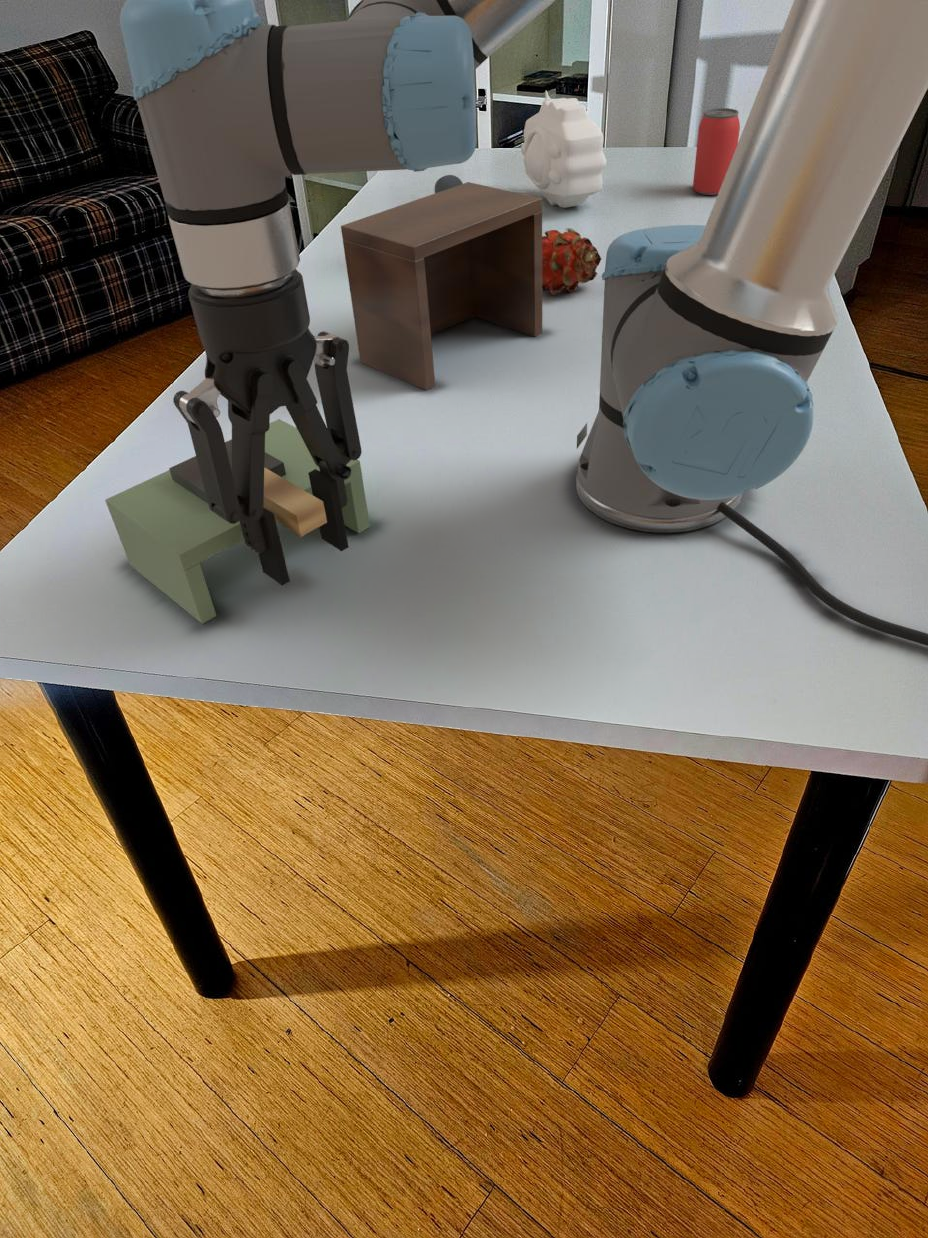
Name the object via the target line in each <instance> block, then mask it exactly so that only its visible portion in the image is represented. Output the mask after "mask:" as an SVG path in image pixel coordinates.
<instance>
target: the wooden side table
mask: <svg viewBox="0 0 928 1238" xmlns="http://www.w3.org/2000/svg"><path fill="white" fill-rule="evenodd" d="M422 197H423V198H420V197H419V198H420V199H419V198H418V199H415V200H412V201H408V202H406V203H403V204H400V205H397V206H394V207H391V208H388V209H386V210H383V211H381V212H376V213H374V214H371V215H369V216H366V217H363V218H360V219H357V220H354V221H351V222H348V223H345V224H342V225H341V226H340V230H341V238H342V246H343V253H344V258H345V265H346V272H347V279H348V280H347V281H348V286H349V293H350V300H351V308H352V313H353V314H352V316H353V321H354V327H355V335H356V336H355V337H356V342H357V349H358V355H359V362H360V363H361V364H363V365H365V366H368V367H371V368H373V369H375V370H377V371H380V372H383V373H385V374H387V375H389V376H392V377H393V378H396V379H398V380H401V381H403V382H406V383H409V384H411V385H413V386H416V387H417V388H421V389H423V390H425V391H428V390H430V389H432V388H434V387H436V378H435V366H434V355H433V342H432V336H433V335H435V334H438V333H439V332H442V331H444V330H446V329H448V328H451V327H453V326H455V325H457V324H460V323H461V322H464V321H467V320H468V319H470V318H473V317H476V318H479V319H481V320H484V321H488V322H490V323H493V324H496V325H499V326H502V327H505V328H507V329H508V328H509V329H512V330H514V331H517V332H519V333H523V334H526V335H529V336H532V337H537V336H539V335H542V334H543V288H542V236H543V198H542V197H539V196H535V195H529V194H525V193H521V192H517V191H516V192H515V191H511V190H507V189H502V188H497V187H493V186H489V185H483V184H479V183H474V182H471V181H470V182H469V181H467V182H463V184H461V185H458V186H455V187H452V188H449V189H447V190H444V191H441V192H438V193H435V192H434V193H432V194H430V195H427V196H422Z"/></svg>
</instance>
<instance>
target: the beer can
mask: <svg viewBox="0 0 928 1238" xmlns="http://www.w3.org/2000/svg"><path fill="white" fill-rule="evenodd" d="M739 114H740V113H739V111H738V110H737V109H734V108H728V107H716V108H710V109H706V110H705V111H703V115H702V117H701V120H700V122H699V124H698V133H697V140H696V141H697V142H696V150H695V162H694V170H693V171H694V172H693V183H692V190H693V191H694V192H696V194H700V195H703V196H718V193H719V191H720V188H721V186H722V183H723V181H724V178H725V175H726V173H727V170H728V168H729V165H730V163H731V160H732V158H733V155H734V152H735V150H736V147H737V145H738V142H739V140H740V129H741V124H740V119H739Z"/></svg>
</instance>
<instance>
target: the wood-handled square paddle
mask: <svg viewBox="0 0 928 1238" xmlns="http://www.w3.org/2000/svg"><path fill="white" fill-rule="evenodd" d="M225 445H226V449H227V453H228V458H229V462H230V466H231V471H232V438H231V439H229V440H226V441H225ZM168 470H170V473H171V476H172V479H173V481H175V482H176V483H178V484H179V485H181V486H182V487H184V488H185V489H187V490H188V491H190V492H191V493H193V494H194V495H196V496H197V497H199V498H200V499H202V500H204V501H205V502H207V503H208V500H207V496H206V493H205V489H204V485H203V481H202V477H201V473H200V469H199V465H198V461H197V458H196V455H194V456H192V457H191V458H188V459H186V460H184V461H181V462H180V463H177V464H175V465H173V466H171V467H169V468H168ZM284 475H286V471H285V467H284V463H283V462H282V461H280V460H278V459H277V458H275V457H273V456H271V455H269V454H268V453H266V452H265V462H264V504H263V507H264V508H265V509H267V510H269V511H270V512H272V513H273V514H274V517H275V521H276V523H278V524H280V525H282V526H283V527H284V528H286V529H288V530H289V531H291V532H293V533H295V534H296V535H297V536H298V537H300V538H302V537H304V536H306V535H307V534H310V533H311V532H313V531H314V530H316V529H318V528H319V527H320V526H322V525H323V524H325V523H327V519H326V514H325V508H324V503H323V501H322V500H320V499H318V498H316V497H315V496H313V495H311V494H309V493H308V492H306V491H304V490H303V489H301V488H299V487H297V486H296V485H294V484H292V483H291V482H289V481H287V480H285V479H284V478H282V476H284Z"/></svg>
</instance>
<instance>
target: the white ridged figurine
mask: <svg viewBox="0 0 928 1238" xmlns="http://www.w3.org/2000/svg"><path fill="white" fill-rule="evenodd" d="M544 94H545V95H544V97H545V98H544V100H543V101H542V103H541V106H540V109H539V111H538V112H537V113H536V114H534V115H532V116H531V117H530V118H529V117H528V119H526V121H525V123H524V128H523V143H522V144H521V145H520V152H521V154H522V155H523V165H524V170H525V174H526V176H527V177H528V178H529V179H530V181H531V182H532V183H533V184H534V186H535V187H536V188H537V190H538V191H539V192H540V194H542V196H543V197H544V198H545V199H546V200H547V201H548V203H549V204H550V205H551V206H559V208H571V207H576V206H581V205H584V203H585V202H586V200H587V199H588V198H590V196H592V195H594V194H597V193H598V192H600V191H602V189H603V172H604V171H605V170H604V169H605V168H606V165H607V158H606V156H605V153H604V149H603V148H604V147H603V146H604V134H603V132H602V130H601V129H600V128H599V127H598V126H597V124H596V123H595V122H594V121H593V120H592V119H591V117H590V116H589V113H588V110H587V107H586V106H585V104H580V103H579V100H578V98H575V97H569V98H567V97H566V98H565V97H560V98H553V99H552V98H551V97H550V96H549V92H548V90H545V93H544Z"/></svg>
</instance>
